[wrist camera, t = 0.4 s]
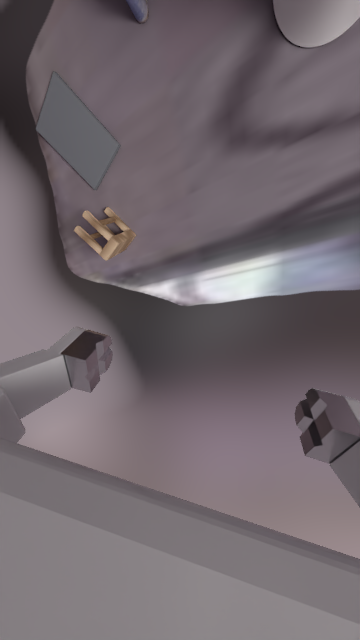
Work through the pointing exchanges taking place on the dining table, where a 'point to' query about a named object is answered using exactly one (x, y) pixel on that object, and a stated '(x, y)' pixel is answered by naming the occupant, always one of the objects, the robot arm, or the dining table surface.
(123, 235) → the stool
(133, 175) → the dining table surface
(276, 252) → the dining table surface
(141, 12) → the flask
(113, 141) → the mat
